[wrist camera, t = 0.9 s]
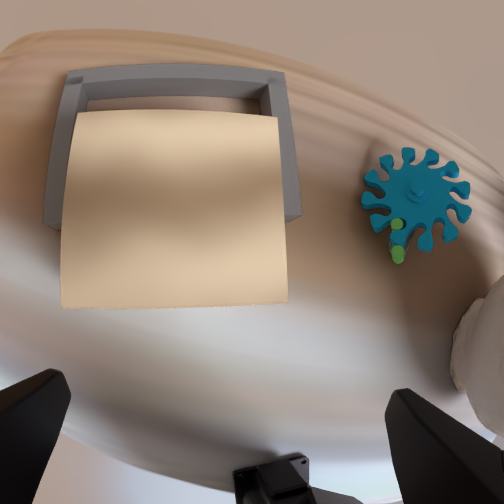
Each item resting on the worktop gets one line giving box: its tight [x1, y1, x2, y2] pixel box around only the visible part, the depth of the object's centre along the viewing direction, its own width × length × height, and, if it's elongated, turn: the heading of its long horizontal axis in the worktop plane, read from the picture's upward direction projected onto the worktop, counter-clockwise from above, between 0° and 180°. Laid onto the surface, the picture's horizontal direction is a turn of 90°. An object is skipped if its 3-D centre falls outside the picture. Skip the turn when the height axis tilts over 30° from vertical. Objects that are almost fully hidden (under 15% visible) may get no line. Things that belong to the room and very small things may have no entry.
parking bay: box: [43, 64, 302, 230], centre depth 20 cm, size 12×18×2 cm
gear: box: [361, 148, 472, 264], centre depth 24 cm, size 11×6×10 cm
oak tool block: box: [60, 109, 288, 309], centre depth 18 cm, size 10×11×8 cm
